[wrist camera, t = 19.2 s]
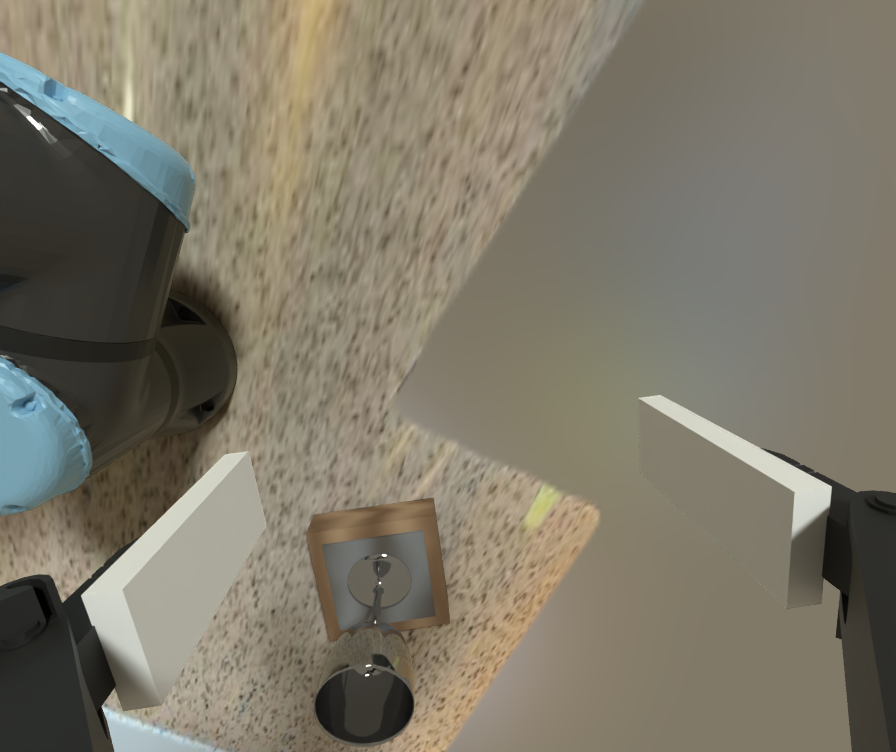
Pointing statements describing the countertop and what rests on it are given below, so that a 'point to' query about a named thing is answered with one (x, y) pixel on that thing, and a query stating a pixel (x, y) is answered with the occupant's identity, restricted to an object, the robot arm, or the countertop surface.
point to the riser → (379, 532)
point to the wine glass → (369, 663)
